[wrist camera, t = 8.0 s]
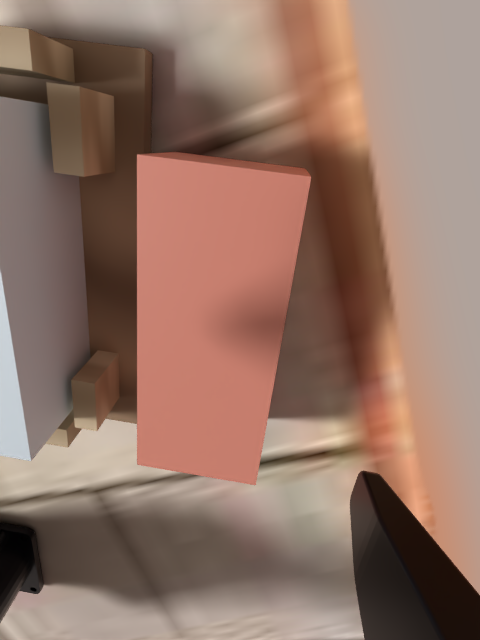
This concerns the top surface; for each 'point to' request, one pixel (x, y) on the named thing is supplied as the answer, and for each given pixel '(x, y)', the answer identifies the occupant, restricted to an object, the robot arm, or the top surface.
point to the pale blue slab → (37, 282)
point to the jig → (94, 195)
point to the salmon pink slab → (211, 306)
